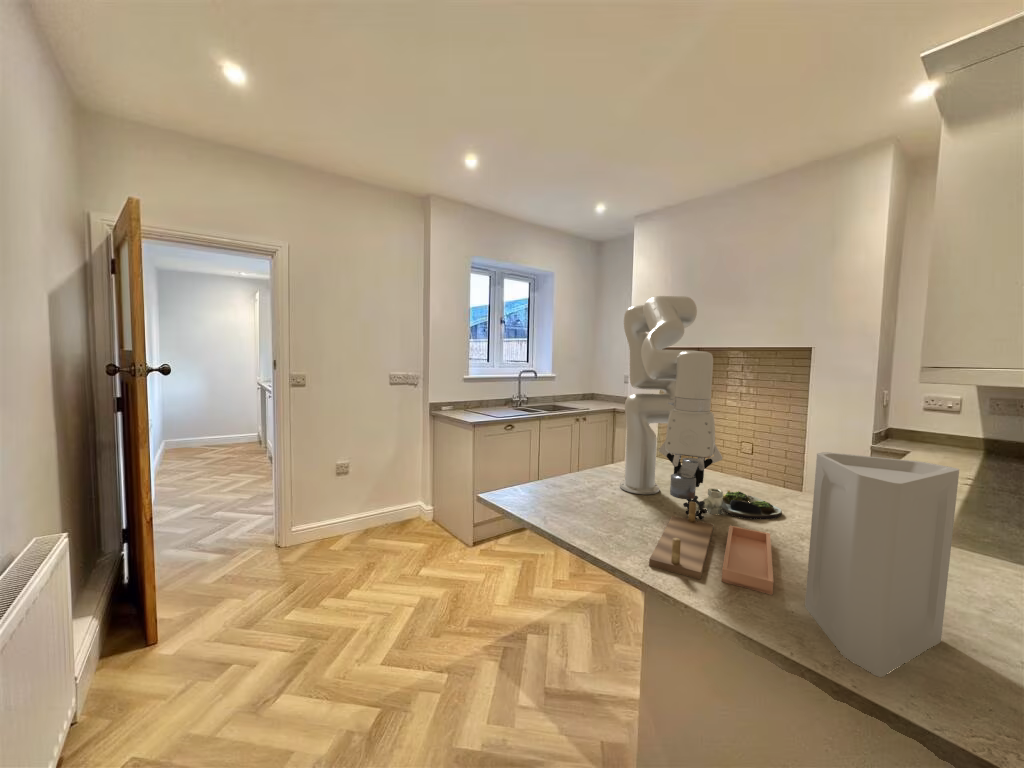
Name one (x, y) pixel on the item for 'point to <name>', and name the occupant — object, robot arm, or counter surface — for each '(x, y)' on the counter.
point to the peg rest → (683, 545)
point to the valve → (707, 503)
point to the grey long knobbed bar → (685, 480)
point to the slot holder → (748, 560)
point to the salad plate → (748, 506)
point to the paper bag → (880, 556)
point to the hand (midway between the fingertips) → (688, 483)
